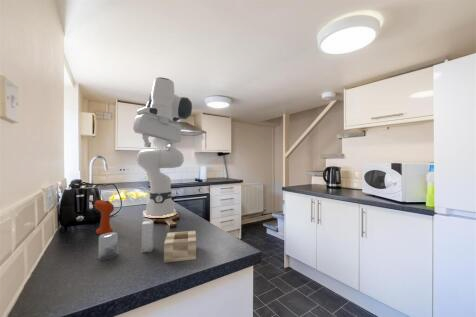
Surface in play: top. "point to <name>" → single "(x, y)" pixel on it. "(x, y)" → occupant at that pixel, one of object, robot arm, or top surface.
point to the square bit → (147, 236)
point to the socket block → (180, 246)
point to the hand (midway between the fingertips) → (158, 149)
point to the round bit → (108, 246)
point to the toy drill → (104, 215)
